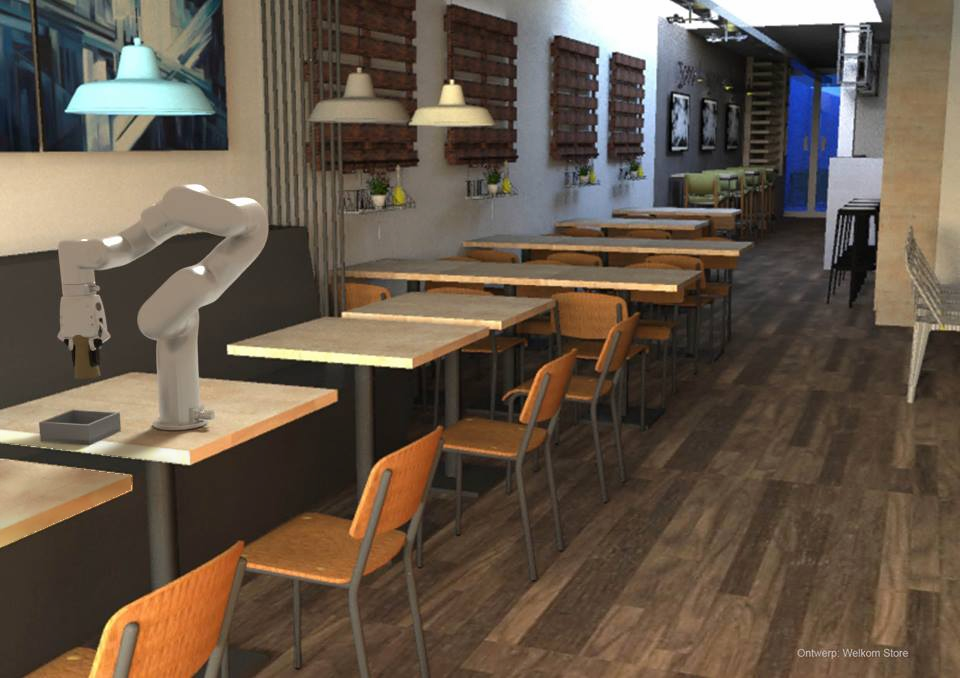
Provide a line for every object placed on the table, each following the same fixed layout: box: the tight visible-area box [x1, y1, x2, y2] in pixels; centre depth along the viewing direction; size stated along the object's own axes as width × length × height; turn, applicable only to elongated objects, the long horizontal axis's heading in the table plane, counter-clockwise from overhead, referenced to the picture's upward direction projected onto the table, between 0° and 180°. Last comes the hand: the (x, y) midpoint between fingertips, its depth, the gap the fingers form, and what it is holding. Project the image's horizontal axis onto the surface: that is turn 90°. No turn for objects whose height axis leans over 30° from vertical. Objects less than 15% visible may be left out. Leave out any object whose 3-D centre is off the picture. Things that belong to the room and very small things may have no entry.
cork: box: [72, 335, 102, 380], centre depth 260 cm, size 6×6×11 cm
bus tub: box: [38, 409, 122, 446], centre depth 249 cm, size 13×13×4 cm
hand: (86, 364), depth 261 cm, fingers closed on cork, 3 cm apart
